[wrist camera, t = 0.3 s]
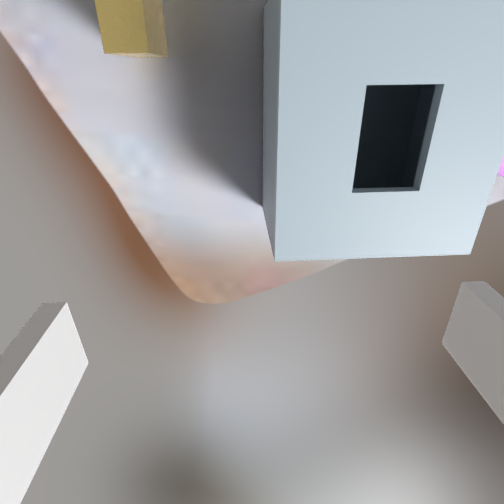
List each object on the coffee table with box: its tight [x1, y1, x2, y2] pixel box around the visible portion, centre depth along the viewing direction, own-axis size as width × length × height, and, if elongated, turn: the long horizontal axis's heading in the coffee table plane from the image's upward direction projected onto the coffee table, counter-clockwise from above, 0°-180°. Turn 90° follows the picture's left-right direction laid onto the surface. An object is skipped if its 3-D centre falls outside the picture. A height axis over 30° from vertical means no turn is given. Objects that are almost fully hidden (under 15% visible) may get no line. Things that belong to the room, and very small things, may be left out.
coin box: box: [263, 0, 504, 261], centre depth 28 cm, size 18×16×12 cm
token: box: [94, 0, 168, 57], centre depth 25 cm, size 5×3×8 cm, turn 1°
